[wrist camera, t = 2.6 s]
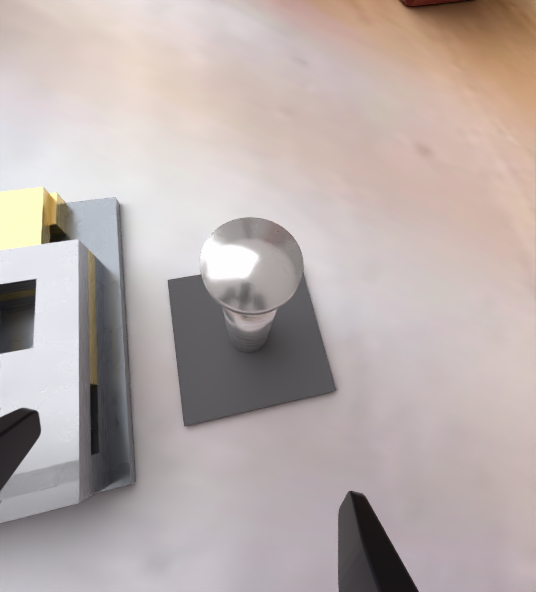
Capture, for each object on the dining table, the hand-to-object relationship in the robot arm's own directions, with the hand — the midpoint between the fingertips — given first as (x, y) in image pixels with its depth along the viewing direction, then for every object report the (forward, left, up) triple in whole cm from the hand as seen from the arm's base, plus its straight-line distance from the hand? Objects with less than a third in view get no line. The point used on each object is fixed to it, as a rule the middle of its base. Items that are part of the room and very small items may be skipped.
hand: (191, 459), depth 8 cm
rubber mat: (+2, -7, -13) cm, 15 cm away
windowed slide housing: (+15, +1, -13) cm, 20 cm away
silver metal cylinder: (+2, -7, -13) cm, 14 cm away
